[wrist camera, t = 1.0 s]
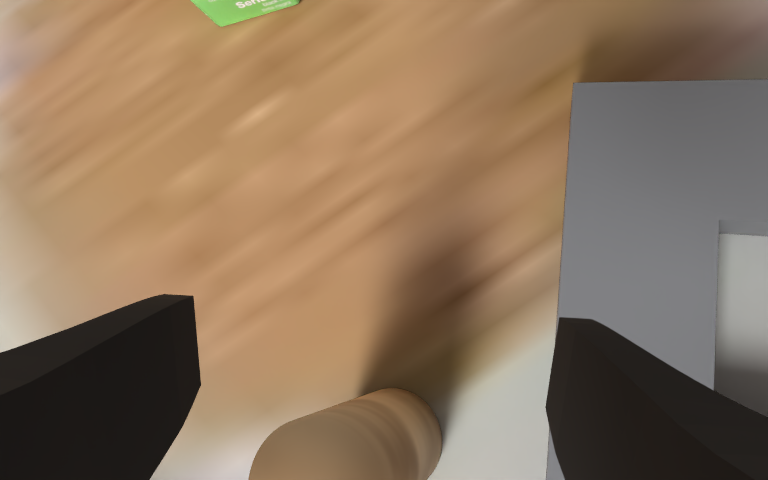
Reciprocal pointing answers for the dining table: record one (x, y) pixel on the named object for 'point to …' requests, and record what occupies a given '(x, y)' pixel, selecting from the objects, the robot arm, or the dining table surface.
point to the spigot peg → (355, 442)
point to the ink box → (239, 9)
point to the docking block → (659, 210)
